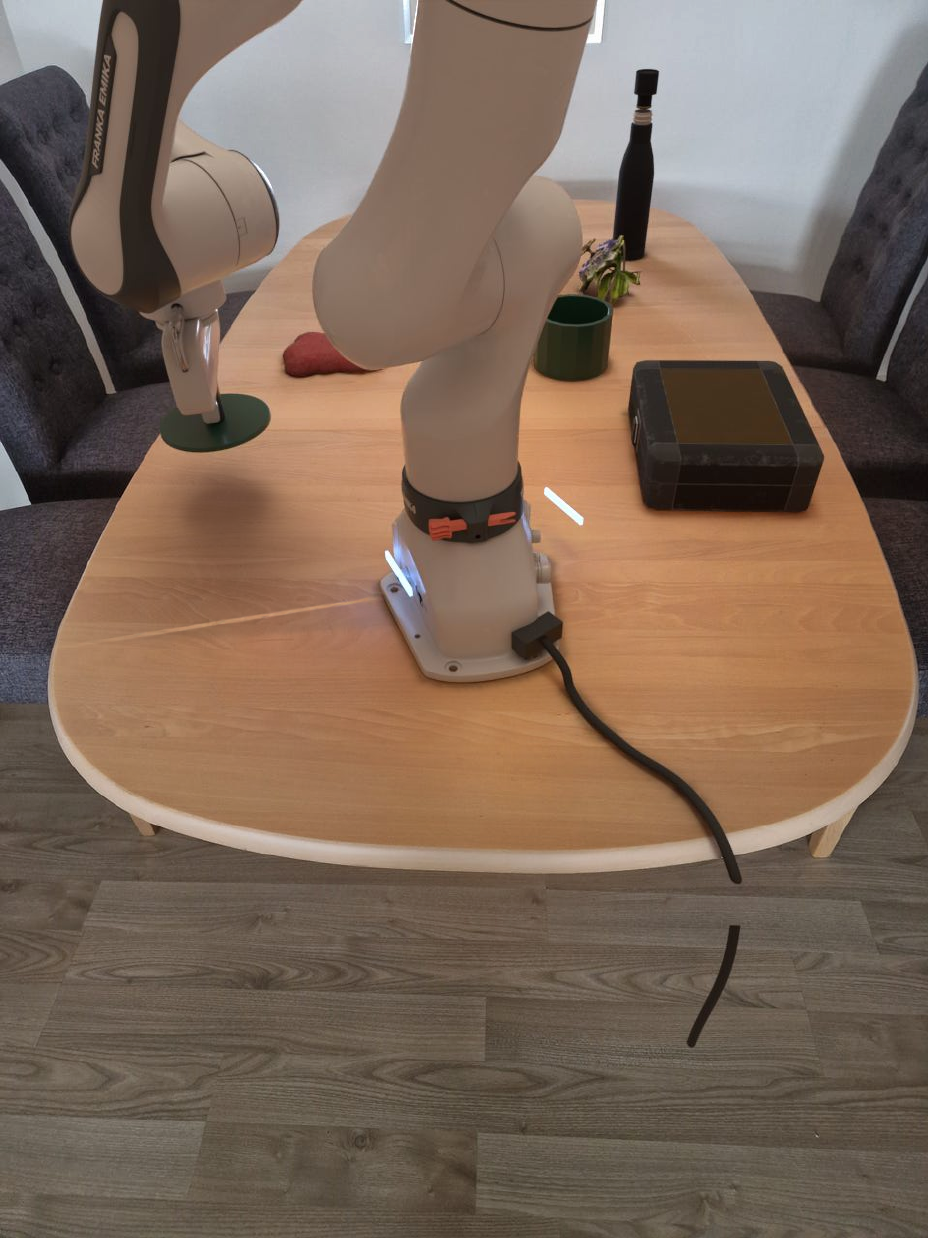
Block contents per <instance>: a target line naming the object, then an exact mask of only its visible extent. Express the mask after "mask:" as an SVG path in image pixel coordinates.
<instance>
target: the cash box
mask: <svg viewBox="0 0 928 1238" xmlns="http://www.w3.org/2000/svg"><path fill="white" fill-rule="evenodd" d="M627 412H628V418H629V419H628V420H629V424H630V425H629V426H630V431H631V434H630V435H631V436H630V441H631V445H632V446H633V449H634V455H635V461H636V468H637V474H638V479H639V480H638V481H639V486H640V492H641V498H642V503H643V504H644V506H645V507H646V508H647V509H650V510H654V511H657V512H658V511H661V512H709V513H710V512H713V513H714V512H715V513H717V512H718V513H719V512H721V513H767V514H769V513H773V514H774V513H775V514H776V513H778V514H799V513H803V512H806V511H808V509H809V506H810V505H811V504H810V503H811V500H812V498H813V494H814V492H815V489H816V486H817V482H818V480H819V477H820V474H821V470H822V468H823V464H824V462H825V461H824V460H825V455H824V452H823V450H822V447H821V445H820V443H819V441H818V439H817V437H816V435H815V433H814V431H813V428H812V427H811V424H810V422H809V420H808V418H807V416H806V414H805V412H804V409H803V408H802V405H801V404H800V401H799V399H798V397H797V395H796V393H795V389H793V386H792V383H791V382H790V380H789V377H788V376H787V374H786V371H785V369H784V367H783V366H782V365H781V364H780V363H778V362H776V361H774V360H728V359H727V360H722V359H721V360H719V359H718V360H715V359H714V360H710V359H709V360H708V359H707V360H705V359H704V360H700V359H698V360H696V359H693V360H692V359H644V360H640V361H636V363H635V364H634V365H633V368H632V373H631V382H630V388H629V398H628V404H627Z"/></svg>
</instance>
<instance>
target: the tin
mask: <svg viewBox="0 0 928 1238" xmlns="http://www.w3.org/2000/svg"><path fill="white" fill-rule="evenodd" d="M613 318H614V307H613V306H612V305H611V303H609V302H608V301H606V300H605V301H604V300H602V299H600V298H598V296H593V295H588V294H577V293H566V294H559V296H558V298H557V299H556V301H555V303H554V305H553V307H552V309H551V311H550V313H549V315H548V318H547V320H546V322H545V325H544V327H543V330H542V333H541V335H540V338H539V341H538V344H537V346H536V349H535V352H534V355H533V358H532V363H533V367H534V369H535V371H537V372H538V373H539V374H540V375H542V376H544V377H546V378H549V379H553V380H556V381H562V382H583V381H587V380H592V379H594V378H597V377H599V376H601V375H602V374H604V373H605V372H606V370H607V369H608V366H609V359H610V358H609V356H610V349H611V348H610V346H611V337H612V327H613Z"/></svg>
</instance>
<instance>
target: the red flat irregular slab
mask: <svg viewBox="0 0 928 1238" xmlns="http://www.w3.org/2000/svg"><path fill="white" fill-rule="evenodd" d="M282 360H283V362H284V363H285V364H284V370H285V372H286V373H287V374H288V375H291V376H295V377H305V376H310V375H313V374H317V373H319V374H333V373H336V372H344V373H345V372H346V373H354V374H355V373H366V372H371V371H373V370H367V369H363V368H361V367H359V366H357V365H355V364H354V363H352V362H350V361H349V360H348V359H346V358H345V357H344V356H343V355H341V354H340V353H339V352H338V351H337V350H336V349H335V347H334V346H333V345H332V344H331V343H330V341H329V340H328V338H327V337H326V335H325V334H324V332H320V331H307V332H304V333H301V334H299V335H298V336H297V337H296V338H295V339H294V341H293V343H291V344H289V346H287V347H286V348H285V349H284V350H283V353H282Z"/></svg>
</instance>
